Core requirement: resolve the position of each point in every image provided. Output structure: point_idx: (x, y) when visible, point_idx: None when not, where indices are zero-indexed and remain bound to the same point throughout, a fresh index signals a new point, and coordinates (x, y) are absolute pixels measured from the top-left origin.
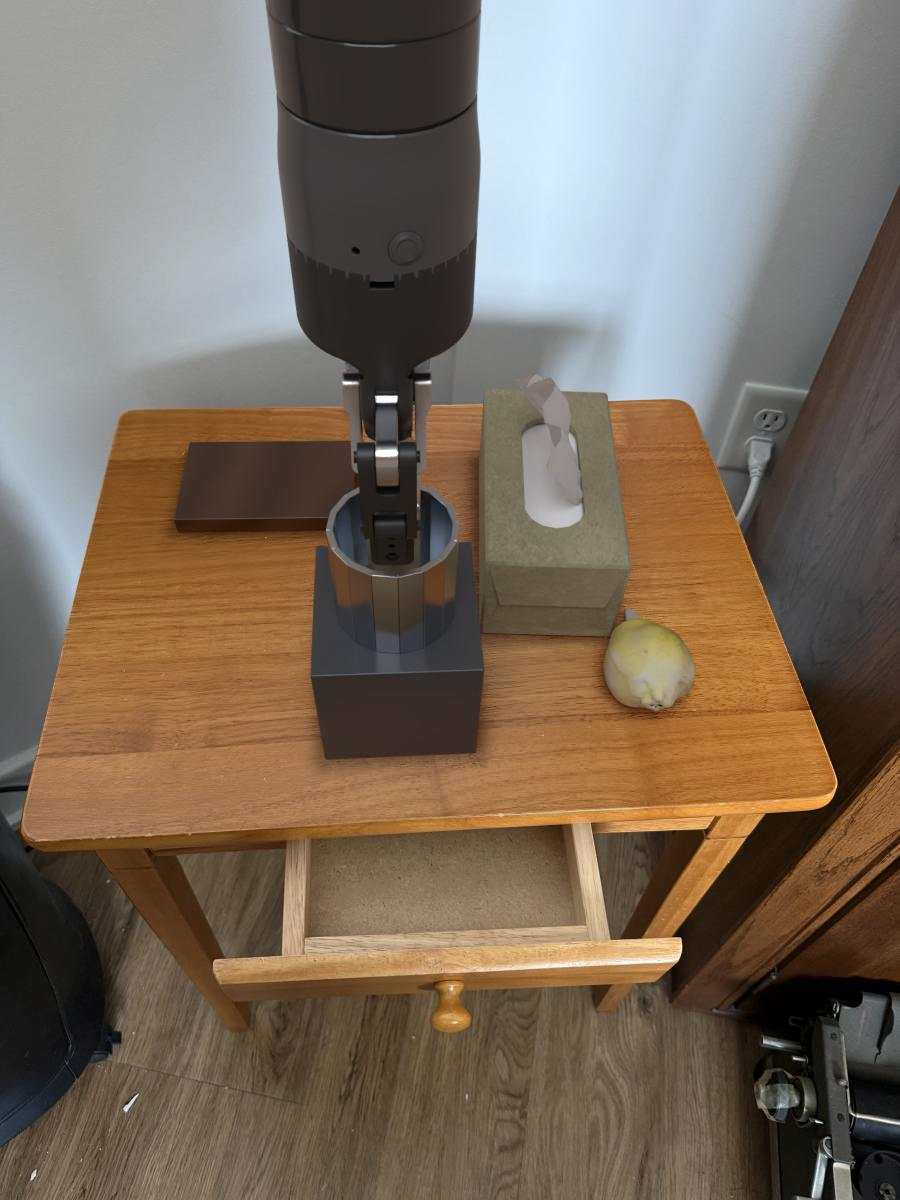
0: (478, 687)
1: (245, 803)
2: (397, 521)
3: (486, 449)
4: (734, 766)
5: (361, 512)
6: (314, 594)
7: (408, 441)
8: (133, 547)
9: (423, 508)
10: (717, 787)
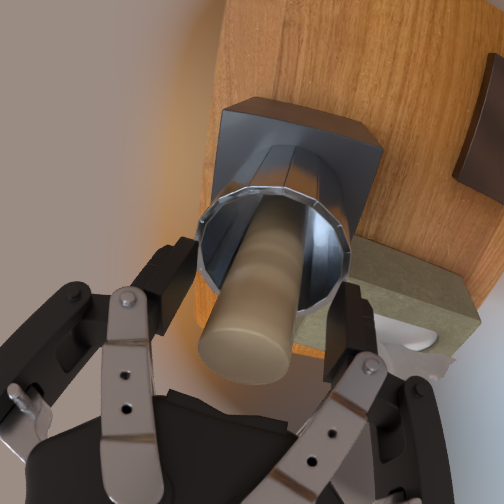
0: None
1: (232, 42)
2: (70, 332)
3: (434, 307)
4: (209, 305)
5: (25, 321)
6: (320, 130)
7: (258, 379)
8: (481, 19)
9: (316, 285)
10: (199, 294)
